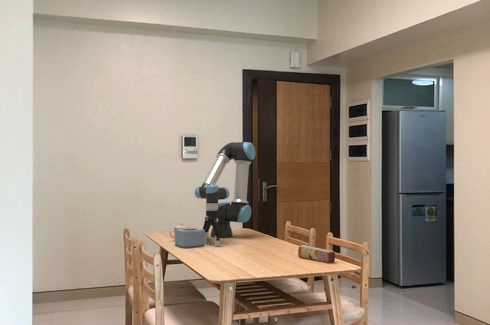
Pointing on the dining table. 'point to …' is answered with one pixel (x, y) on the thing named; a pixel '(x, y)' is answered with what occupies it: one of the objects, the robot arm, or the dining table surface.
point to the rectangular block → (210, 241)
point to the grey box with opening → (190, 237)
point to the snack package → (316, 254)
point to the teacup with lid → (178, 228)
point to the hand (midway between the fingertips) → (211, 244)
